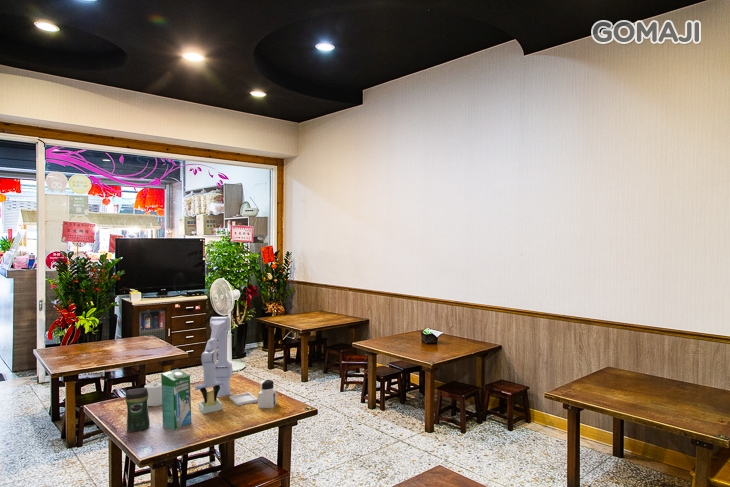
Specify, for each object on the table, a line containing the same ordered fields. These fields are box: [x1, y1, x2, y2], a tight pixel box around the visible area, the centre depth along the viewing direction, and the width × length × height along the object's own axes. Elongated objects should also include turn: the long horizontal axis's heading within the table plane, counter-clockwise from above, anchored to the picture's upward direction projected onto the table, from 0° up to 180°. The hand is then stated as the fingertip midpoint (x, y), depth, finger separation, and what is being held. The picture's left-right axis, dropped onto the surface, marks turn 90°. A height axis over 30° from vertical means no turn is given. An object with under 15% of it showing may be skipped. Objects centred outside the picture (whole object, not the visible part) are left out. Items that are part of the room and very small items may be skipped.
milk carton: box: [160, 368, 192, 431], centre depth 221 cm, size 9×9×25 cm
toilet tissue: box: [143, 380, 162, 407], centre depth 252 cm, size 11×12×10 cm
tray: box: [228, 391, 258, 407], centre depth 252 cm, size 14×11×2 cm
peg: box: [206, 389, 215, 406], centre depth 240 cm, size 4×4×9 cm
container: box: [257, 379, 278, 409], centre depth 244 cm, size 8×8×13 cm
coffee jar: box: [125, 387, 151, 432], centre depth 218 cm, size 10×8×19 cm
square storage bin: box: [197, 397, 224, 414], centre depth 240 cm, size 10×10×4 cm
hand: (210, 401), depth 240 cm, fingers closed on peg, 4 cm apart
